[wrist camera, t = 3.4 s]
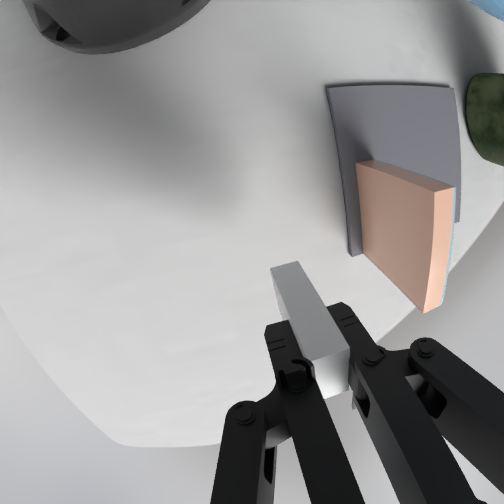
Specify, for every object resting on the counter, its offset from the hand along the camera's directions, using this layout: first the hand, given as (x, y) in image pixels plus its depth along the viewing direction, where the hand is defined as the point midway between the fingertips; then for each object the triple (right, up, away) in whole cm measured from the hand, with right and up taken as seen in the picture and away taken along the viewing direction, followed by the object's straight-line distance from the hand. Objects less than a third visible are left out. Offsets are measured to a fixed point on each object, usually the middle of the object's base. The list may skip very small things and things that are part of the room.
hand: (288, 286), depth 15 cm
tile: (+8, +5, +6) cm, 11 cm away
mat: (+12, +10, +6) cm, 16 cm away
